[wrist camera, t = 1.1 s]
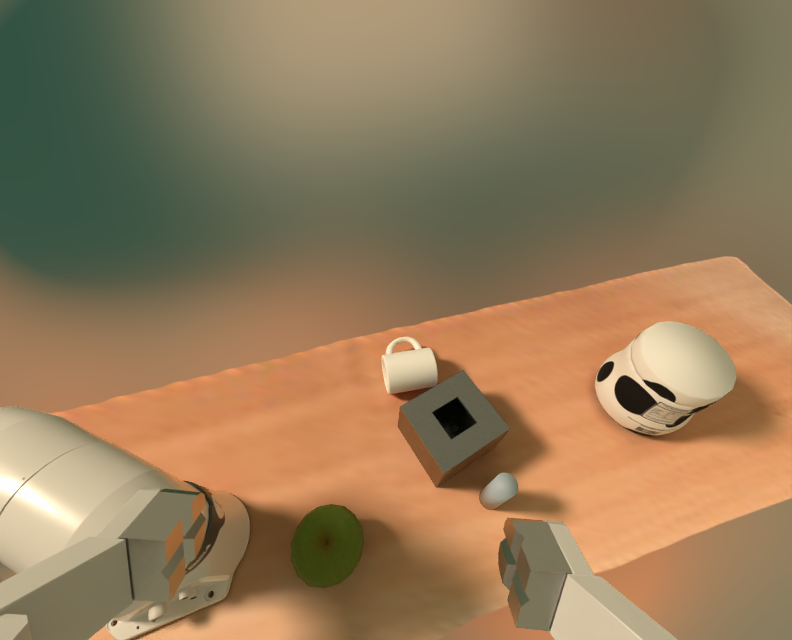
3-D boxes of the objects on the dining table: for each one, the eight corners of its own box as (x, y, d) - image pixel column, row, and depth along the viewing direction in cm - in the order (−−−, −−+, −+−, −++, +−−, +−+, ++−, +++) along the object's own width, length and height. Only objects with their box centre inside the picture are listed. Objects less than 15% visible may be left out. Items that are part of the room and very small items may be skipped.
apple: (317, 603, 57) (306, 606, 49) (287, 538, 62) (273, 530, 54) (376, 556, 61) (376, 552, 53) (344, 498, 66) (339, 485, 58)
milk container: (633, 353, 86) (685, 305, 71) (693, 422, 77) (768, 382, 62) (571, 378, 81) (614, 332, 67) (628, 454, 72) (691, 420, 58)
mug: (435, 392, 78) (440, 374, 72) (388, 401, 77) (389, 383, 70) (421, 344, 85) (424, 324, 79) (377, 351, 84) (377, 331, 77)
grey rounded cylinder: (488, 514, 65) (505, 502, 56) (475, 495, 67) (489, 480, 58) (503, 502, 67) (523, 488, 58) (490, 483, 68) (507, 468, 59)
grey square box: (436, 487, 68) (443, 473, 59) (397, 426, 74) (400, 406, 66) (495, 446, 72) (510, 428, 64) (454, 392, 78) (463, 370, 70)
